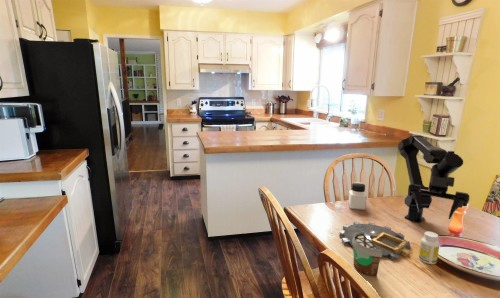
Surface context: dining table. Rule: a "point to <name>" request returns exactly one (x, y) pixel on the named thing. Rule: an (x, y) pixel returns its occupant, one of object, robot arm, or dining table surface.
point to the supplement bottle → (429, 248)
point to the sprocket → (377, 238)
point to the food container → (365, 255)
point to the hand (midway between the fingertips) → (434, 215)
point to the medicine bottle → (357, 196)
